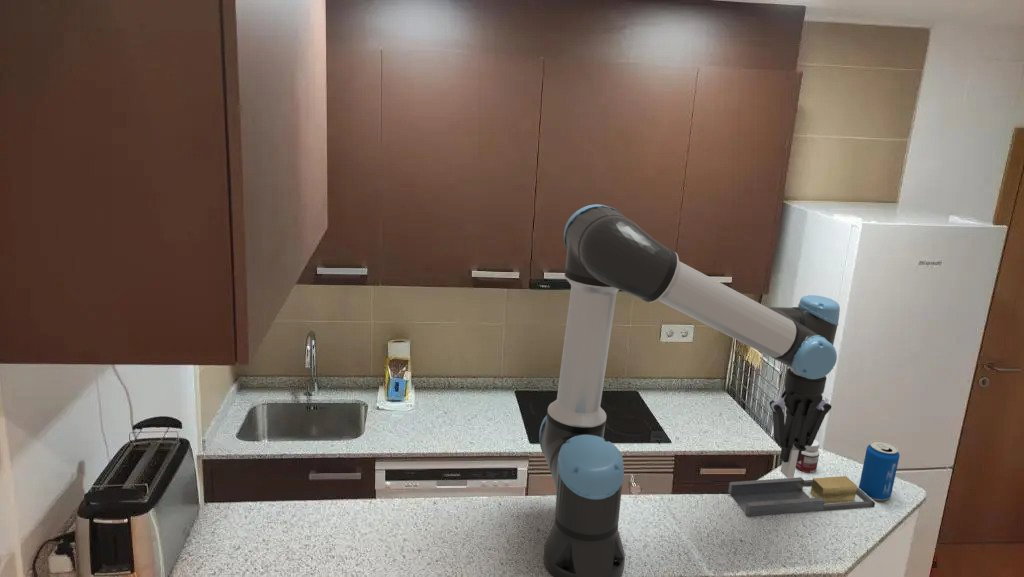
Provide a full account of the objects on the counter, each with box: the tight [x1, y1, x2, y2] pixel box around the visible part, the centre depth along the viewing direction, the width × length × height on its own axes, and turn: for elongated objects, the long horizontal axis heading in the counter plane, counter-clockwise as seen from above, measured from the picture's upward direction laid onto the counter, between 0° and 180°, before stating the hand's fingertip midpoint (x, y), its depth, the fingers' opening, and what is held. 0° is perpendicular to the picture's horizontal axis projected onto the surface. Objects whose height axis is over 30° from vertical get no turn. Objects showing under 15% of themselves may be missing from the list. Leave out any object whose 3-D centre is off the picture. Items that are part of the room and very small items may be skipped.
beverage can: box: [858, 439, 900, 502], centre depth 157 cm, size 6×6×12 cm
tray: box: [803, 479, 876, 512], centre depth 155 cm, size 12×10×2 cm
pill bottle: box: [795, 439, 820, 474], centre depth 165 cm, size 5×5×8 cm
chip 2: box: [829, 475, 858, 503], centre depth 154 cm, size 4×4×4 cm
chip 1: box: [809, 476, 841, 504], centre depth 154 cm, size 4×4×4 cm
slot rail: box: [727, 476, 826, 518], centre depth 152 cm, size 17×9×4 cm, turn 100°
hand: (786, 474), depth 150 cm, fingers closed
